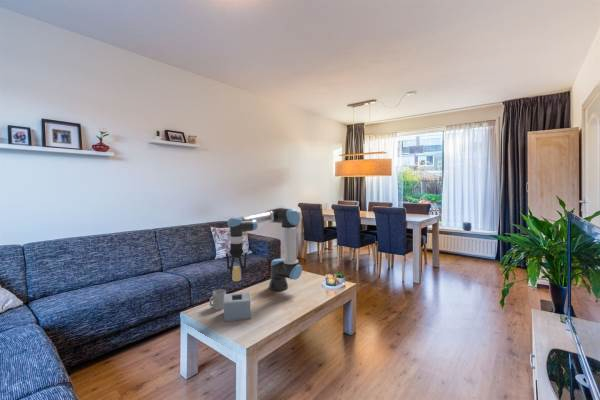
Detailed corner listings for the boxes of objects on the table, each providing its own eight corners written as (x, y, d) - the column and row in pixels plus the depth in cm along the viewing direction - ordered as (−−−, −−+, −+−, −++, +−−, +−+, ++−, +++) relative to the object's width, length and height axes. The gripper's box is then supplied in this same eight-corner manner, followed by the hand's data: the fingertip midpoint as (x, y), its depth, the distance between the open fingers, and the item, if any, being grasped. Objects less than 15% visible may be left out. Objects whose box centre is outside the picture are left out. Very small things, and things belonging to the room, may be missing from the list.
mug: (220, 303, 205) (220, 288, 204) (228, 306, 200) (228, 291, 199) (205, 309, 195) (205, 293, 194) (214, 313, 190) (214, 296, 189)
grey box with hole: (249, 309, 195) (249, 292, 194) (250, 318, 182) (250, 299, 181) (224, 312, 191) (224, 294, 190) (223, 321, 179) (223, 302, 178)
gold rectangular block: (239, 277, 188) (239, 265, 188) (240, 281, 183) (239, 268, 182) (233, 278, 188) (233, 266, 187) (233, 281, 182) (233, 268, 181)
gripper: (249, 240, 189) (250, 276, 191) (222, 241, 185) (222, 278, 187) (250, 243, 182) (250, 280, 183) (222, 244, 178) (222, 282, 180)
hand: (236, 279), depth 185 cm, fingers closed on gold rectangular block, 4 cm apart
